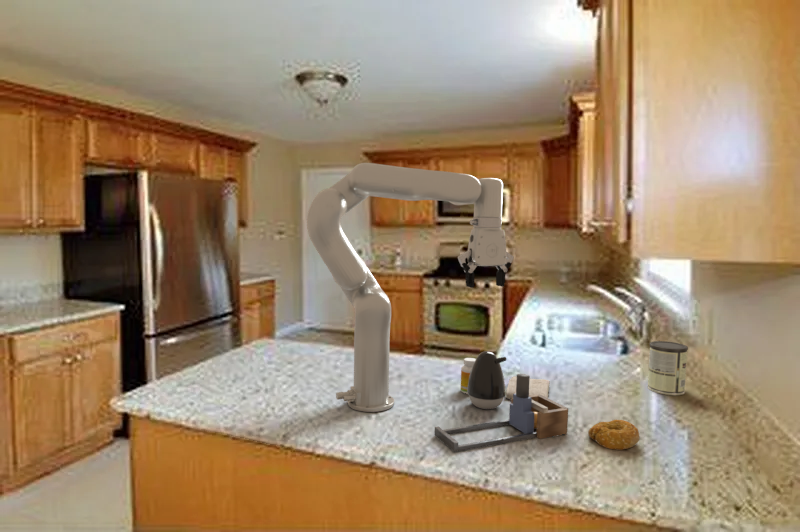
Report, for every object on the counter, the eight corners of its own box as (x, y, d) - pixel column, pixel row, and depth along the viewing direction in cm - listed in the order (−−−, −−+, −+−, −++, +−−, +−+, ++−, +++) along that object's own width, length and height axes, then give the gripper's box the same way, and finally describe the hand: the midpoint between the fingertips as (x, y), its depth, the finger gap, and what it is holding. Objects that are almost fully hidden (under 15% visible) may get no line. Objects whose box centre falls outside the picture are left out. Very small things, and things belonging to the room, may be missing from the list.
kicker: (524, 434, 119) (527, 380, 118) (507, 423, 125) (509, 372, 124) (535, 433, 120) (537, 379, 119) (517, 422, 126) (519, 370, 125)
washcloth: (549, 387, 158) (550, 377, 158) (548, 406, 141) (549, 395, 140) (510, 382, 161) (511, 373, 161) (505, 401, 144) (505, 390, 144)
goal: (539, 439, 118) (540, 408, 117) (510, 421, 128) (511, 393, 128) (568, 433, 121) (570, 404, 121) (538, 416, 132) (539, 389, 131)
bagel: (597, 429, 125) (598, 410, 124) (644, 443, 117) (646, 423, 117) (580, 441, 117) (581, 421, 117) (630, 457, 110) (631, 435, 110)
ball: (548, 425, 123) (536, 434, 122) (538, 419, 127) (526, 428, 126) (543, 411, 122) (531, 420, 121) (533, 406, 126) (520, 415, 125)
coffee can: (646, 382, 162) (649, 339, 161) (683, 387, 158) (686, 343, 157) (647, 392, 153) (650, 346, 152) (686, 397, 149) (689, 350, 148)
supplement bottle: (478, 395, 147) (479, 362, 146) (459, 393, 148) (460, 361, 147) (479, 389, 152) (480, 357, 152) (461, 388, 154) (462, 356, 153)
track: (454, 452, 110) (454, 443, 110) (434, 435, 119) (434, 426, 119) (536, 437, 119) (537, 429, 119) (512, 422, 127) (513, 414, 127)
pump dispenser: (497, 416, 132) (499, 358, 130) (460, 407, 137) (462, 352, 136) (510, 404, 140) (512, 350, 139) (475, 397, 146) (477, 345, 144)
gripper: (466, 223, 132) (464, 289, 133) (522, 225, 138) (519, 287, 140) (452, 223, 139) (451, 285, 140) (506, 224, 145) (503, 284, 147)
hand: (485, 286), depth 140 cm, fingers open, 9 cm apart
